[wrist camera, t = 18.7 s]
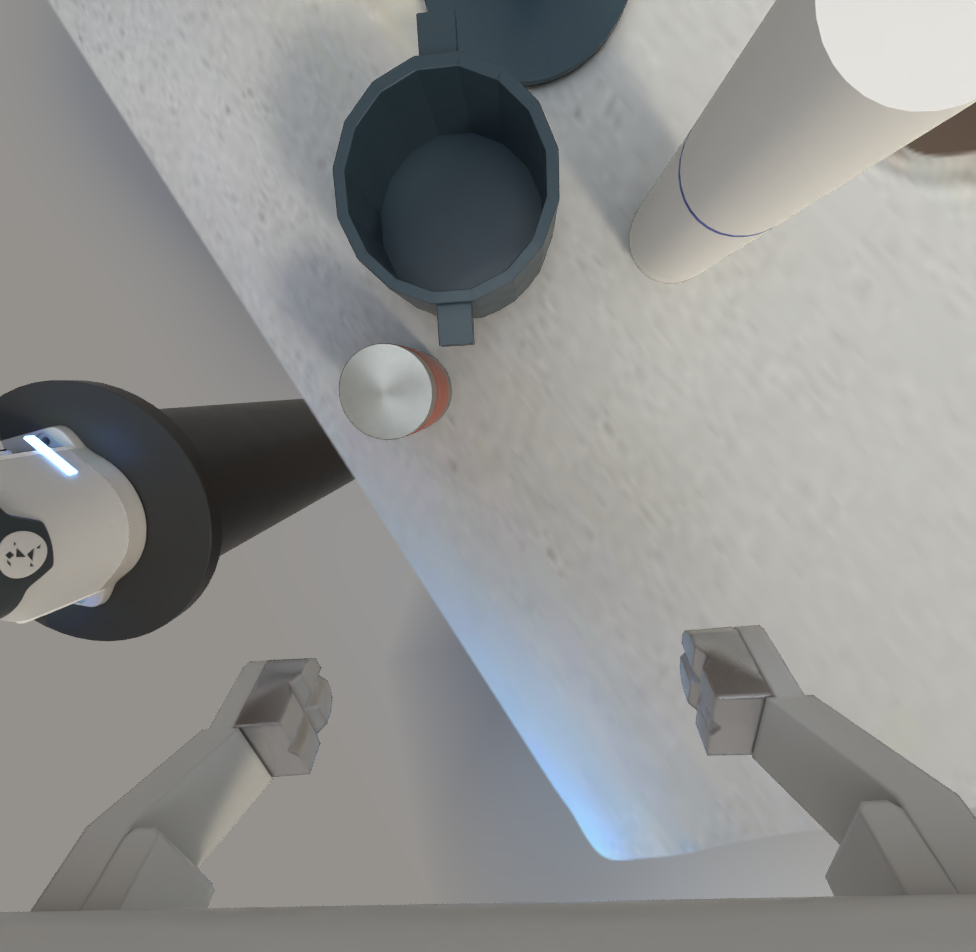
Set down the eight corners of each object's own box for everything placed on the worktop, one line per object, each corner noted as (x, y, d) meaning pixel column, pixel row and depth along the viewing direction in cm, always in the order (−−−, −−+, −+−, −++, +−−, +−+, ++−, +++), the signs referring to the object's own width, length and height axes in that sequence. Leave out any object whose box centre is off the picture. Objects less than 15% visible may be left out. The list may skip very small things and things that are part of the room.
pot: (385, 356, 41) (350, 350, 33) (362, 97, 38) (316, 16, 29) (554, 346, 40) (562, 337, 32) (547, 77, 36) (555, -14, 28)
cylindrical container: (611, 228, 38) (765, -46, 14) (688, 165, 37) (1009, -262, 12) (662, 301, 39) (895, 166, 14) (739, 242, 38) (1138, -17, 13)
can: (380, 430, 43) (343, 442, 34) (373, 353, 41) (332, 345, 33) (454, 426, 42) (436, 438, 33) (449, 348, 41) (429, 339, 32)
